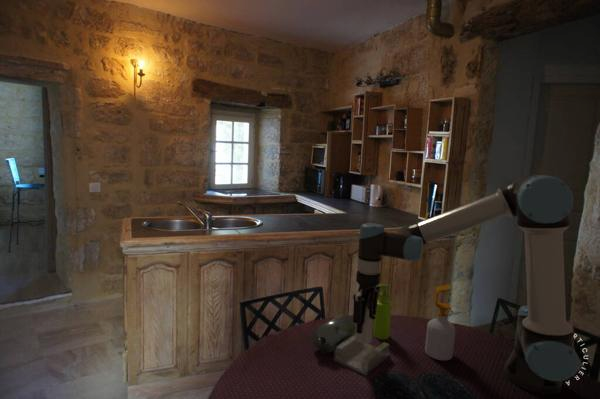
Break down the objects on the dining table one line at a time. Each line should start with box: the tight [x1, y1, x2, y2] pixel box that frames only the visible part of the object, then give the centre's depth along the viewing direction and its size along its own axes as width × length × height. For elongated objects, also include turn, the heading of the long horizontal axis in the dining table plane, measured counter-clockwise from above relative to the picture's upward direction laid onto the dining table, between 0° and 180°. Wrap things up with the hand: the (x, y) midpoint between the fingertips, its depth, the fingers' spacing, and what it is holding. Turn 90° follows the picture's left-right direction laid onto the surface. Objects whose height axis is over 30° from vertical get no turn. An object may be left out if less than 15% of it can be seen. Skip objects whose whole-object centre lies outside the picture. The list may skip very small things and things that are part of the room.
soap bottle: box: [424, 284, 456, 361], centre depth 127 cm, size 9×9×25 cm
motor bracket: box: [311, 313, 391, 377], centre depth 125 cm, size 22×18×9 cm
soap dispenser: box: [372, 283, 393, 340], centre depth 138 cm, size 6×7×20 cm
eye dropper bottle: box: [355, 309, 374, 344], centre depth 122 cm, size 4×6×12 cm
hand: (363, 339), depth 123 cm, fingers closed on eye dropper bottle, 4 cm apart
